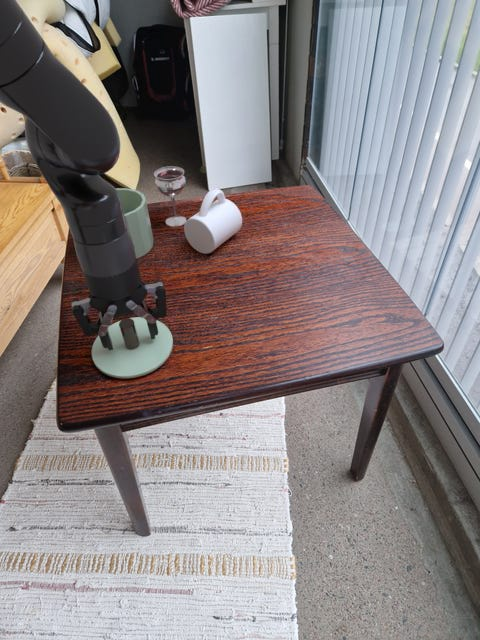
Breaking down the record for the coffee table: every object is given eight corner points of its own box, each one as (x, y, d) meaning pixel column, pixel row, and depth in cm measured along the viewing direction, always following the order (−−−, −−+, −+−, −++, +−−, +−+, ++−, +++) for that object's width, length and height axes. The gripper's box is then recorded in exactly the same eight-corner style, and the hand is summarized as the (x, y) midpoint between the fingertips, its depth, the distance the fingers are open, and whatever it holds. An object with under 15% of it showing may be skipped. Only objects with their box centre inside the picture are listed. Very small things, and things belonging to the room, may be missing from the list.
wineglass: (157, 218, 102) (149, 170, 93) (183, 211, 104) (177, 163, 96) (168, 231, 97) (160, 182, 89) (194, 223, 100) (189, 175, 91)
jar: (100, 267, 88) (86, 223, 81) (94, 236, 96) (81, 194, 89) (158, 254, 91) (150, 210, 84) (147, 226, 99) (139, 184, 92)
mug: (185, 247, 93) (179, 196, 84) (214, 226, 99) (210, 177, 90) (215, 259, 89) (211, 208, 81) (243, 236, 95) (242, 187, 87)
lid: (97, 391, 65) (87, 365, 61) (89, 332, 74) (79, 306, 70) (182, 367, 68) (177, 341, 64) (164, 314, 77) (159, 288, 73)
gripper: (54, 286, 54) (89, 369, 65) (164, 262, 57) (179, 345, 69) (52, 254, 59) (85, 337, 71) (153, 234, 62) (169, 316, 74)
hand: (131, 340), depth 70 cm, fingers open, 6 cm apart
